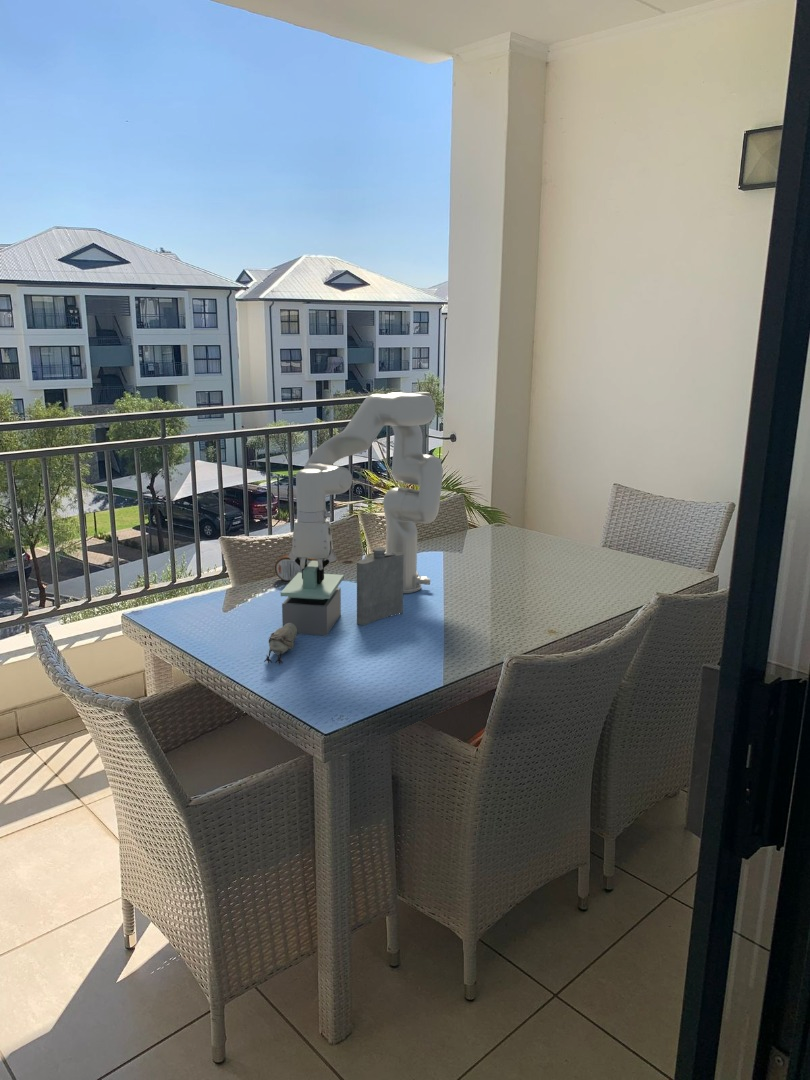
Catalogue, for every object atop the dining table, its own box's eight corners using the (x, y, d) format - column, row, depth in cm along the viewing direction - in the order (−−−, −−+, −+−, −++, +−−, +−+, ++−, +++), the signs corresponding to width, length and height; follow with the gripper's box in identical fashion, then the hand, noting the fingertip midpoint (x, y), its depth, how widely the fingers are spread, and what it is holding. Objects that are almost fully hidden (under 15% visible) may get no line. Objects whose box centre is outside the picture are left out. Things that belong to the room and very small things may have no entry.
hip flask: (361, 626, 213) (362, 555, 208) (352, 621, 216) (352, 552, 211) (404, 612, 224) (406, 545, 219) (395, 609, 227) (396, 542, 222)
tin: (322, 580, 251) (322, 555, 249) (320, 583, 248) (320, 558, 246) (276, 578, 252) (275, 553, 250) (274, 581, 249) (273, 556, 247)
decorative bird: (302, 642, 202) (302, 614, 200) (283, 667, 187) (282, 638, 185) (282, 640, 203) (282, 613, 201) (261, 665, 188) (260, 636, 186)
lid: (343, 581, 220) (343, 557, 218) (329, 602, 204) (328, 577, 202) (298, 579, 222) (298, 555, 220) (280, 599, 206) (279, 574, 204)
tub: (340, 614, 222) (340, 587, 220) (326, 635, 206) (326, 606, 204) (299, 611, 223) (298, 584, 221) (282, 632, 208) (282, 603, 206)
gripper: (344, 513, 210) (345, 579, 215) (285, 511, 212) (287, 576, 217) (338, 520, 202) (339, 588, 207) (277, 518, 205) (279, 585, 210)
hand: (313, 581), depth 212 cm, fingers closed on lid, 3 cm apart
